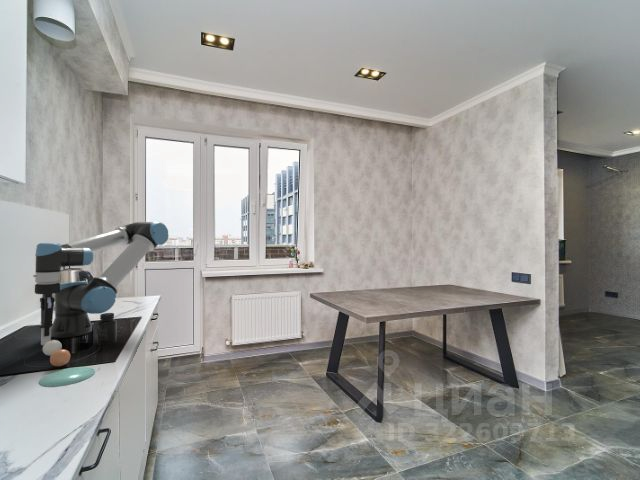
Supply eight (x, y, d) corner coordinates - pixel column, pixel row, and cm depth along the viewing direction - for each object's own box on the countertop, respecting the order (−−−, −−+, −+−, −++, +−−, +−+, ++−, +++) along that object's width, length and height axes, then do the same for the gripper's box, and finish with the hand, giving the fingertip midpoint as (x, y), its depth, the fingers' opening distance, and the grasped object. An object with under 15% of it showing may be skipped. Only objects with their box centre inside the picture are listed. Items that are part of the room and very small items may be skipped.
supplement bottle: (120, 341, 137) (120, 313, 137) (103, 346, 131) (104, 316, 131) (109, 339, 140) (110, 311, 140) (93, 344, 134) (93, 314, 134)
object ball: (48, 365, 111) (48, 349, 111) (68, 361, 115) (68, 345, 115) (51, 370, 107) (51, 353, 107) (72, 365, 111) (72, 349, 111)
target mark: (35, 376, 103) (35, 375, 103) (88, 364, 113) (88, 363, 113) (43, 391, 93) (43, 390, 93) (100, 376, 104) (100, 375, 104)
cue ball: (41, 355, 120) (41, 340, 120) (60, 351, 124) (60, 337, 124) (43, 359, 117) (44, 343, 117) (63, 355, 121) (63, 340, 121)
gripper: (32, 281, 128) (30, 342, 128) (37, 285, 119) (35, 350, 119) (57, 280, 134) (55, 338, 133) (63, 283, 125) (61, 345, 124)
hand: (45, 343), depth 126 cm, fingers closed
